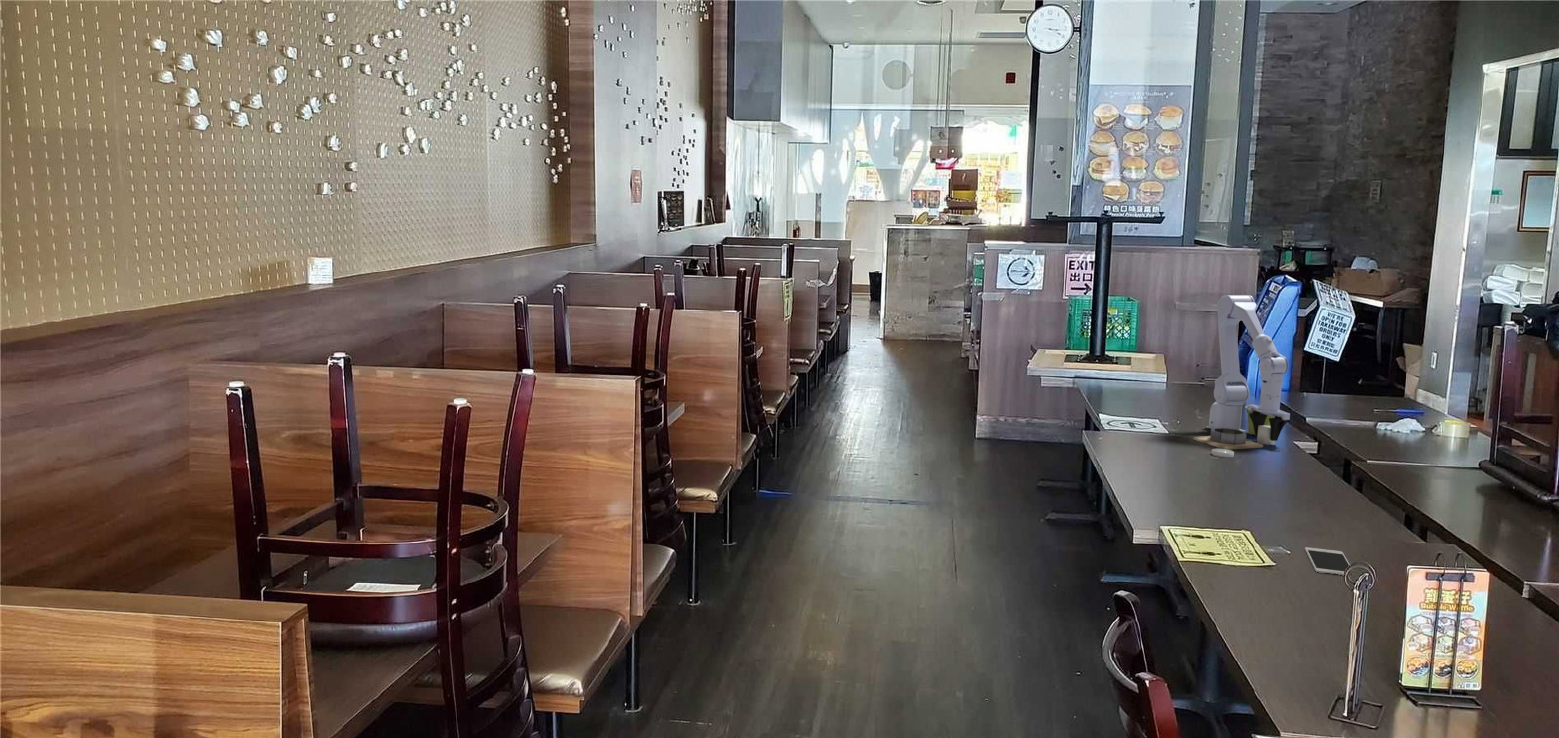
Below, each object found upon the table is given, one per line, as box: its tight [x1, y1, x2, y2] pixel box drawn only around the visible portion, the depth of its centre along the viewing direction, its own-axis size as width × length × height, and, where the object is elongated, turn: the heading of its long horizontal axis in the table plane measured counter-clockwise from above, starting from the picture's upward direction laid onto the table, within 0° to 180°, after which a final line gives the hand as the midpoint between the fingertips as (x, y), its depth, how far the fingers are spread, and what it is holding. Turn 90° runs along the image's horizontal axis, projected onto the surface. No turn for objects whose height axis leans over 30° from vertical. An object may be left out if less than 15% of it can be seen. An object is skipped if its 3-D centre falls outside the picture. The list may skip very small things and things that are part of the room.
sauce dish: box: [1211, 448, 1235, 459], centre depth 307 cm, size 6×6×2 cm
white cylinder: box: [1256, 425, 1276, 446], centre depth 325 cm, size 5×5×5 cm
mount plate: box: [1192, 435, 1264, 451], centre depth 323 cm, size 14×14×1 cm
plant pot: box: [1245, 405, 1274, 436], centre depth 336 cm, size 9×9×9 cm
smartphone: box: [1304, 546, 1351, 577], centre depth 215 cm, size 7×16×1 cm, turn 161°
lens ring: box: [1209, 428, 1248, 445], centre depth 322 cm, size 10×10×3 cm
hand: (1266, 438), depth 325 cm, fingers open, 6 cm apart
